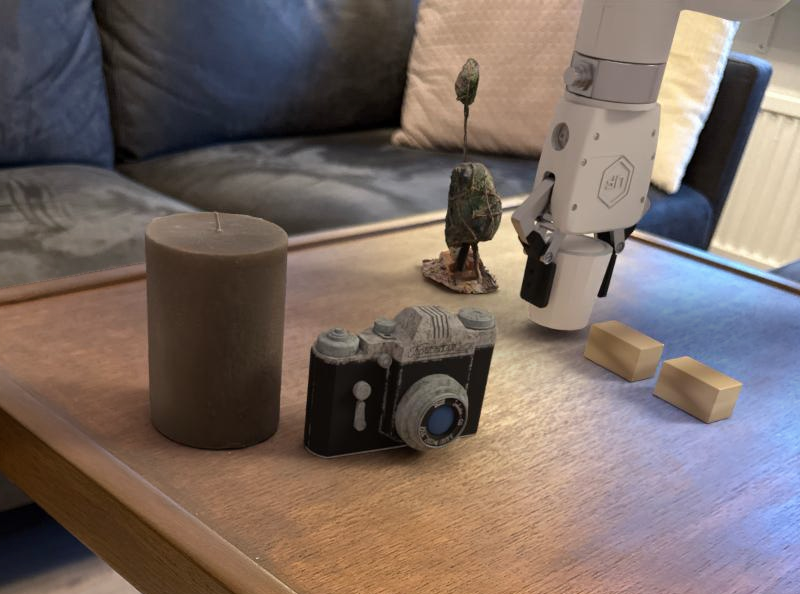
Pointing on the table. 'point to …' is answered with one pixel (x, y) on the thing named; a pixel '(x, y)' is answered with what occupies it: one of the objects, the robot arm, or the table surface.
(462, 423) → the camera
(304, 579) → the table surface
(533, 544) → the table surface
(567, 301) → the white cup
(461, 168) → the plant with pod
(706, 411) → the bar
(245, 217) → the pillar candle
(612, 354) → the bar
